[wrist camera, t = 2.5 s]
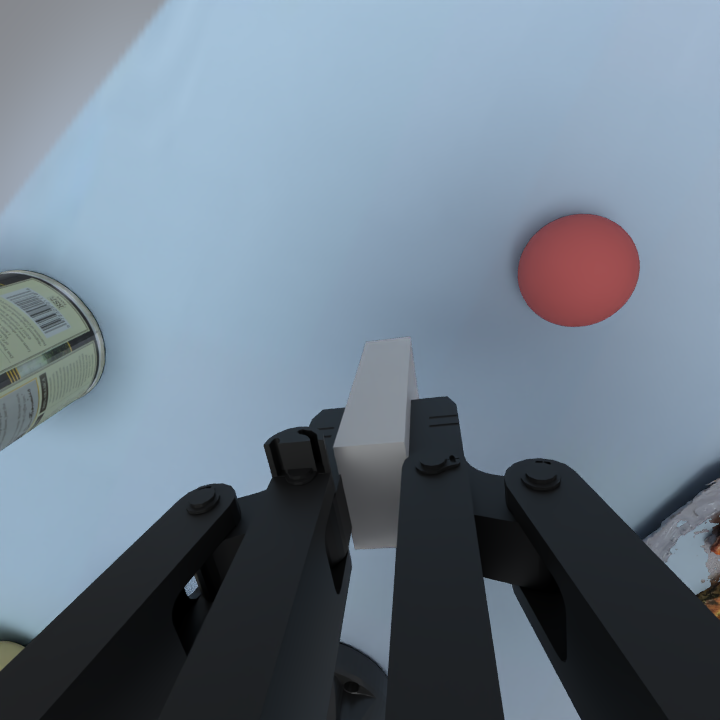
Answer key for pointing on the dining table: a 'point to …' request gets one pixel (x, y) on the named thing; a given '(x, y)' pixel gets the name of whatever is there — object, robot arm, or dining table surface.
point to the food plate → (694, 512)
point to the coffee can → (43, 351)
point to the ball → (578, 270)
